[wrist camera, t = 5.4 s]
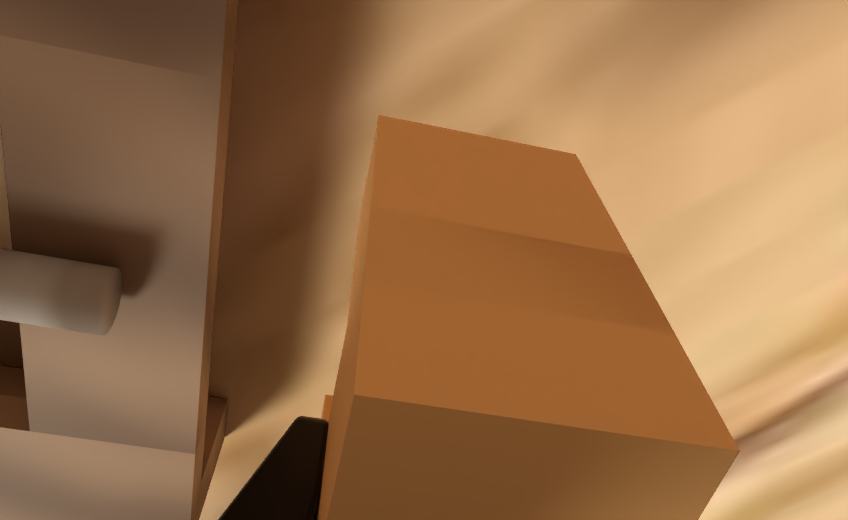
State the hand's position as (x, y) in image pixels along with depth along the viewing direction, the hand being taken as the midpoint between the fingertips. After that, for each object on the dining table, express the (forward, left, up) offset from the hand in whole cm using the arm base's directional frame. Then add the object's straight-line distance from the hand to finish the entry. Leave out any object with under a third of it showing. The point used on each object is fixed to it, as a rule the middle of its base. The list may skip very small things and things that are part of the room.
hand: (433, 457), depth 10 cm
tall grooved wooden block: (0, 0, -3) cm, 3 cm away
